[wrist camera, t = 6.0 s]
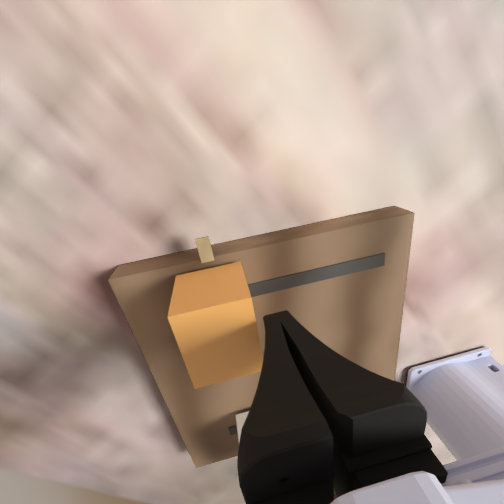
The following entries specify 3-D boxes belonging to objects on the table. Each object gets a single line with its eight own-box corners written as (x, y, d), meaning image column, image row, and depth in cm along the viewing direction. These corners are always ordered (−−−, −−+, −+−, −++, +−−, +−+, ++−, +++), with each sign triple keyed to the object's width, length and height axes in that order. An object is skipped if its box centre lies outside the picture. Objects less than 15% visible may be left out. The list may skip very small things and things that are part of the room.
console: (395, 187, 18) (418, 192, 16) (378, 395, 28) (391, 413, 26) (109, 246, 16) (97, 260, 14) (197, 447, 26) (197, 471, 24)
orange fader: (240, 261, 16) (251, 297, 12) (253, 323, 18) (265, 370, 14) (175, 275, 15) (167, 317, 12) (196, 337, 17) (194, 389, 14)
